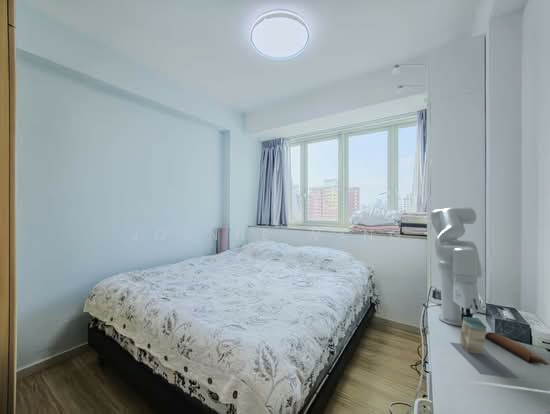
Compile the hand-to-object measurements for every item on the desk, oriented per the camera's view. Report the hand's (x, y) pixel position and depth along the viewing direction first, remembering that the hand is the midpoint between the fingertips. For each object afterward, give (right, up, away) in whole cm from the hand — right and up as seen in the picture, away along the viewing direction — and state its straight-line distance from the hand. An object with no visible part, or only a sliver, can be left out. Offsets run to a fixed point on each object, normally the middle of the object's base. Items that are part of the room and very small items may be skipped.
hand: (467, 323), depth 93 cm
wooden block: (0, -9, -2) cm, 9 cm away
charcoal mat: (-2, -10, -8) cm, 12 cm away
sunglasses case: (+18, -10, -2) cm, 21 cm away
